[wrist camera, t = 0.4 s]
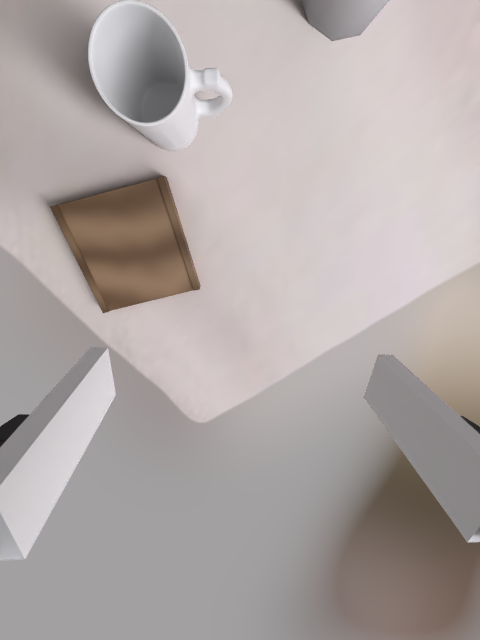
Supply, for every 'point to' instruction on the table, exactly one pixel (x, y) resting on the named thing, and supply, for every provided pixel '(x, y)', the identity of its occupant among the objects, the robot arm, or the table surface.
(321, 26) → the toilet tissue
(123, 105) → the mug
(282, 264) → the table surface
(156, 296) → the wooden coaster
